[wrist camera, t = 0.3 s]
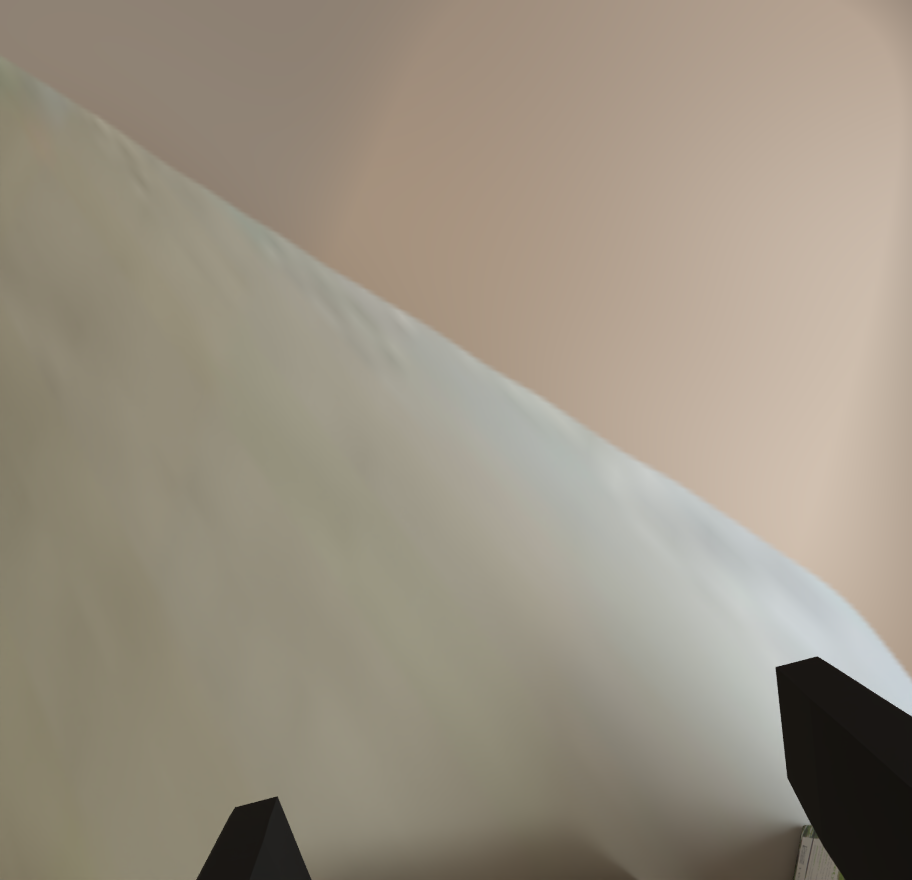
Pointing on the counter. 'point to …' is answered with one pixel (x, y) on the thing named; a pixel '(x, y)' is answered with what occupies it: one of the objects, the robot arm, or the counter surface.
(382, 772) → the counter surface
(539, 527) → the counter surface
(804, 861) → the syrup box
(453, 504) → the counter surface
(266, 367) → the counter surface
